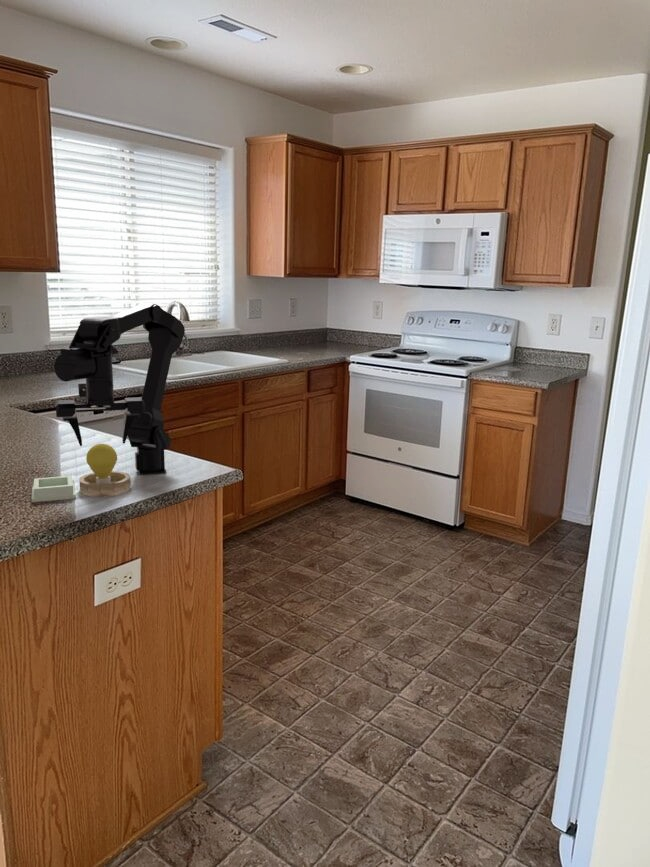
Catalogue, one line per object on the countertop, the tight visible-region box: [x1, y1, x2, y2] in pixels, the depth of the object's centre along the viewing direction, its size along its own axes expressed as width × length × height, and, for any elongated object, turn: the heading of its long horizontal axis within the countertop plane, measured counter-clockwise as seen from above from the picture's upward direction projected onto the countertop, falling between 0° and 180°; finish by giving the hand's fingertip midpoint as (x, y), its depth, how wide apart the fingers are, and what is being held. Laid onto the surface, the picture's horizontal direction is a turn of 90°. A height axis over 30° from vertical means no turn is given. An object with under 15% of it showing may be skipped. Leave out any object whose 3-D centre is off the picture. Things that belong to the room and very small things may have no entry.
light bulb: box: [85, 443, 118, 484], centre depth 153 cm, size 7×7×10 cm
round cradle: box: [78, 470, 132, 498], centre depth 154 cm, size 11×11×3 cm
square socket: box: [31, 475, 77, 503], centre depth 150 cm, size 9×9×3 cm
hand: (102, 444), depth 152 cm, fingers open, 9 cm apart
